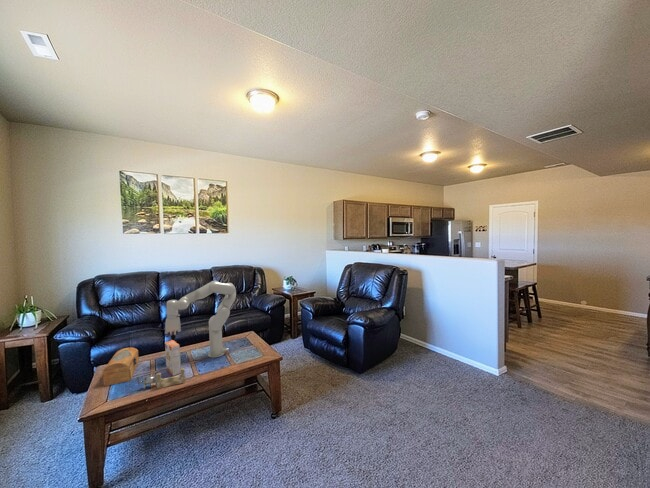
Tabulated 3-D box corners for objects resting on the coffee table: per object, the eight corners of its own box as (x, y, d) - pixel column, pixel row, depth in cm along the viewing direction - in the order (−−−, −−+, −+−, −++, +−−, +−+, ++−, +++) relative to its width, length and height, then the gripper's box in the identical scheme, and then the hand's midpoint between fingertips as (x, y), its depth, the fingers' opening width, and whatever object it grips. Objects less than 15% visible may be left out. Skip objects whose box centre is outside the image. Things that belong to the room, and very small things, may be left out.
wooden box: (132, 380, 188) (131, 360, 188) (102, 386, 181) (101, 366, 181) (141, 362, 216) (140, 345, 215) (115, 367, 209) (114, 349, 208)
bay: (185, 375, 192) (184, 363, 192) (184, 382, 184) (184, 369, 183) (159, 381, 186) (158, 368, 185) (157, 388, 177) (156, 375, 177)
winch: (158, 383, 183) (157, 371, 183) (157, 386, 179) (156, 374, 179) (138, 388, 178) (138, 375, 178) (137, 391, 174) (136, 378, 174)
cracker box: (165, 370, 202) (164, 341, 201) (174, 367, 206) (173, 339, 205) (172, 376, 192) (170, 346, 191) (181, 373, 196) (180, 344, 196)
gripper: (183, 313, 219) (184, 336, 219) (161, 316, 212) (162, 340, 213) (183, 316, 212) (184, 340, 213) (160, 319, 206) (161, 343, 206)
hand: (173, 340), depth 213 cm, fingers closed
